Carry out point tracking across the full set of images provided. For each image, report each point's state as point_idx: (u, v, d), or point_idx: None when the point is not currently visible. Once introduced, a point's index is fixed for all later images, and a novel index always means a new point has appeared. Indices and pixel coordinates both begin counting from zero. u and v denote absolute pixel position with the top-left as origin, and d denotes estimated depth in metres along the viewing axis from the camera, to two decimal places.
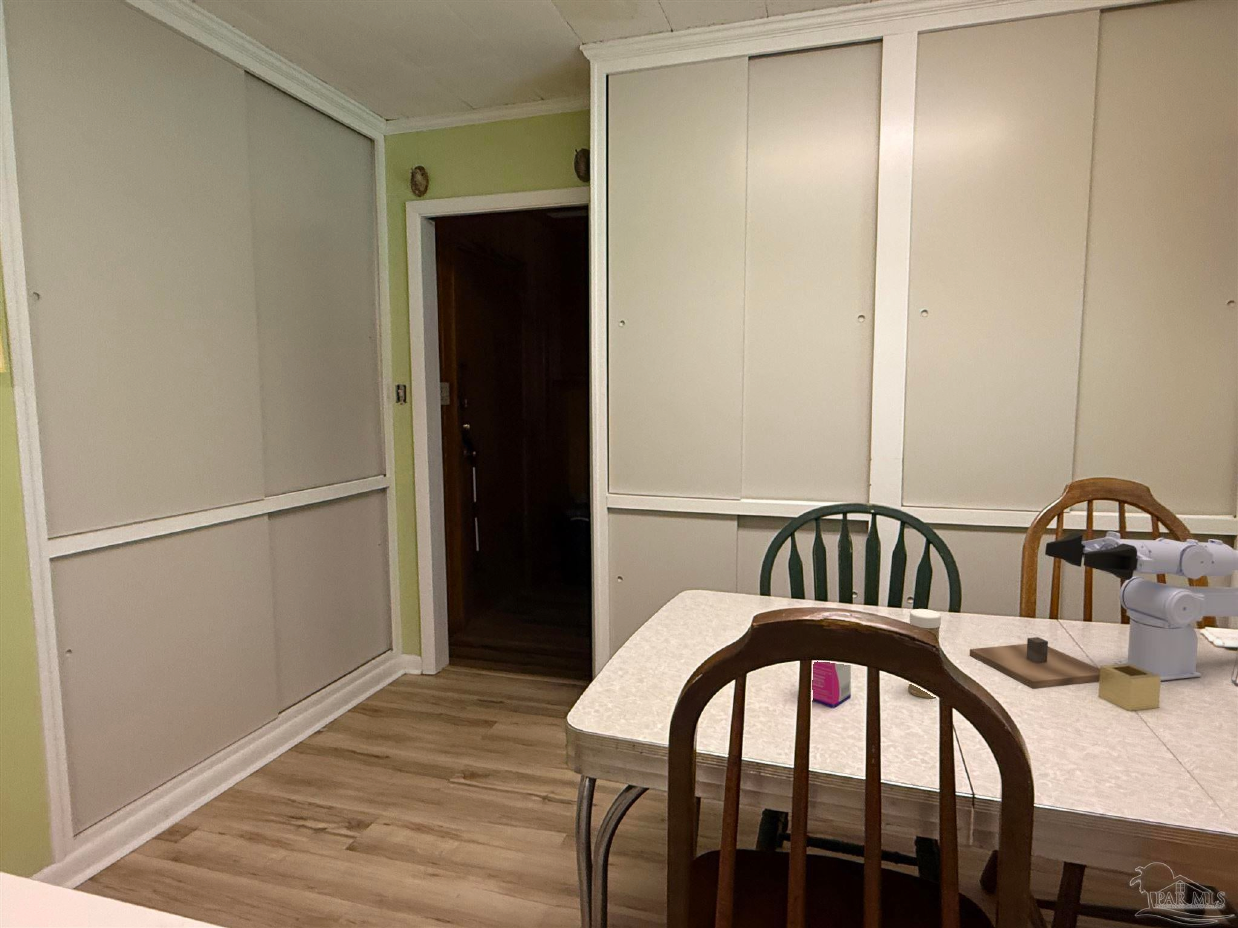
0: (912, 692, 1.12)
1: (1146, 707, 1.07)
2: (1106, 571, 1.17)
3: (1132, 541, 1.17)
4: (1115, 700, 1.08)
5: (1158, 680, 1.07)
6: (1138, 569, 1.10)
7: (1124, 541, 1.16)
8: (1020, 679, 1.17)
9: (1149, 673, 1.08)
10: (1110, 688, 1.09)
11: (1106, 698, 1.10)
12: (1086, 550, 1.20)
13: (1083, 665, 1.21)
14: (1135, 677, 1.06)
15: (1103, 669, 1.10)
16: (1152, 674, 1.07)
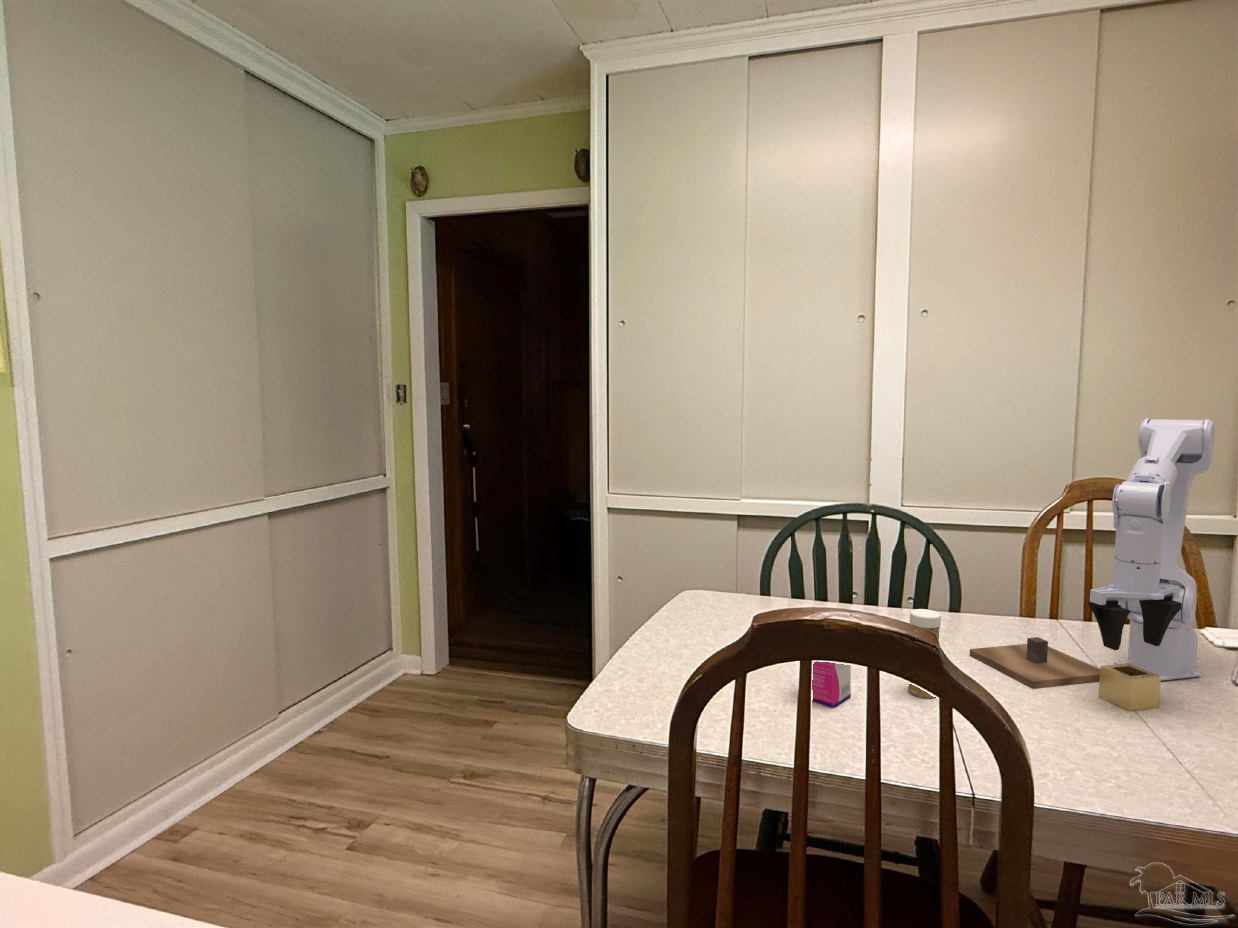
0: (912, 692, 1.12)
1: (1146, 707, 1.07)
2: None
3: (1157, 574, 1.05)
4: (1115, 700, 1.08)
5: (1158, 680, 1.07)
6: None
7: (1157, 585, 1.05)
8: (1020, 679, 1.17)
9: (1149, 673, 1.08)
10: (1110, 688, 1.09)
11: (1106, 698, 1.10)
12: (1117, 601, 1.07)
13: (1083, 665, 1.21)
14: (1135, 677, 1.06)
15: (1103, 669, 1.10)
16: (1152, 674, 1.07)
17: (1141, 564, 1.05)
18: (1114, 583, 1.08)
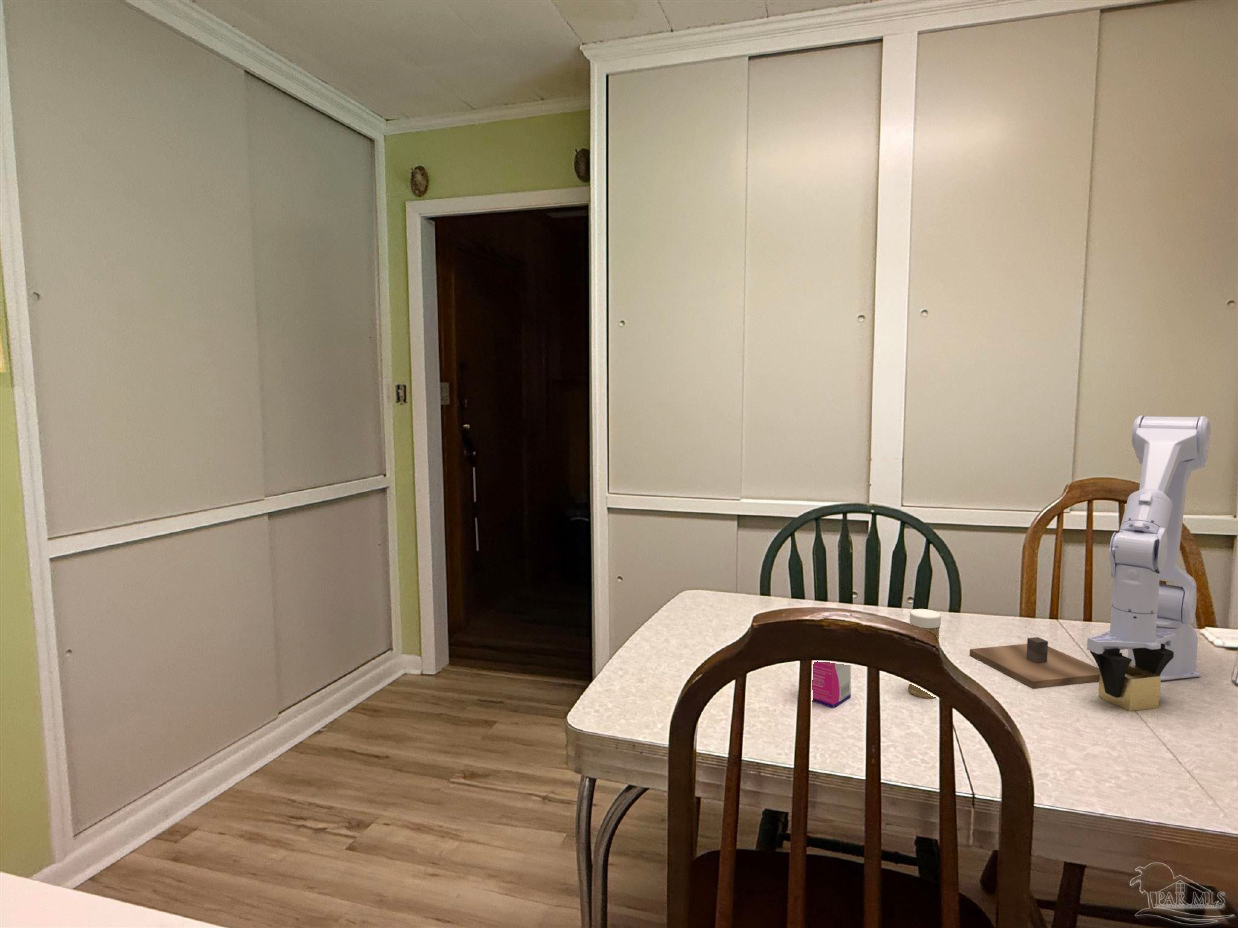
0: (912, 692, 1.12)
1: (1146, 707, 1.07)
2: None
3: (1154, 623, 1.06)
4: (1115, 700, 1.08)
5: (1158, 680, 1.07)
6: None
7: (1154, 634, 1.06)
8: (1020, 679, 1.17)
9: (1149, 673, 1.08)
10: None
11: (1106, 698, 1.10)
12: None
13: (1083, 665, 1.21)
14: (1135, 677, 1.06)
15: None
16: (1152, 674, 1.07)
17: (1138, 614, 1.05)
18: (1111, 631, 1.09)
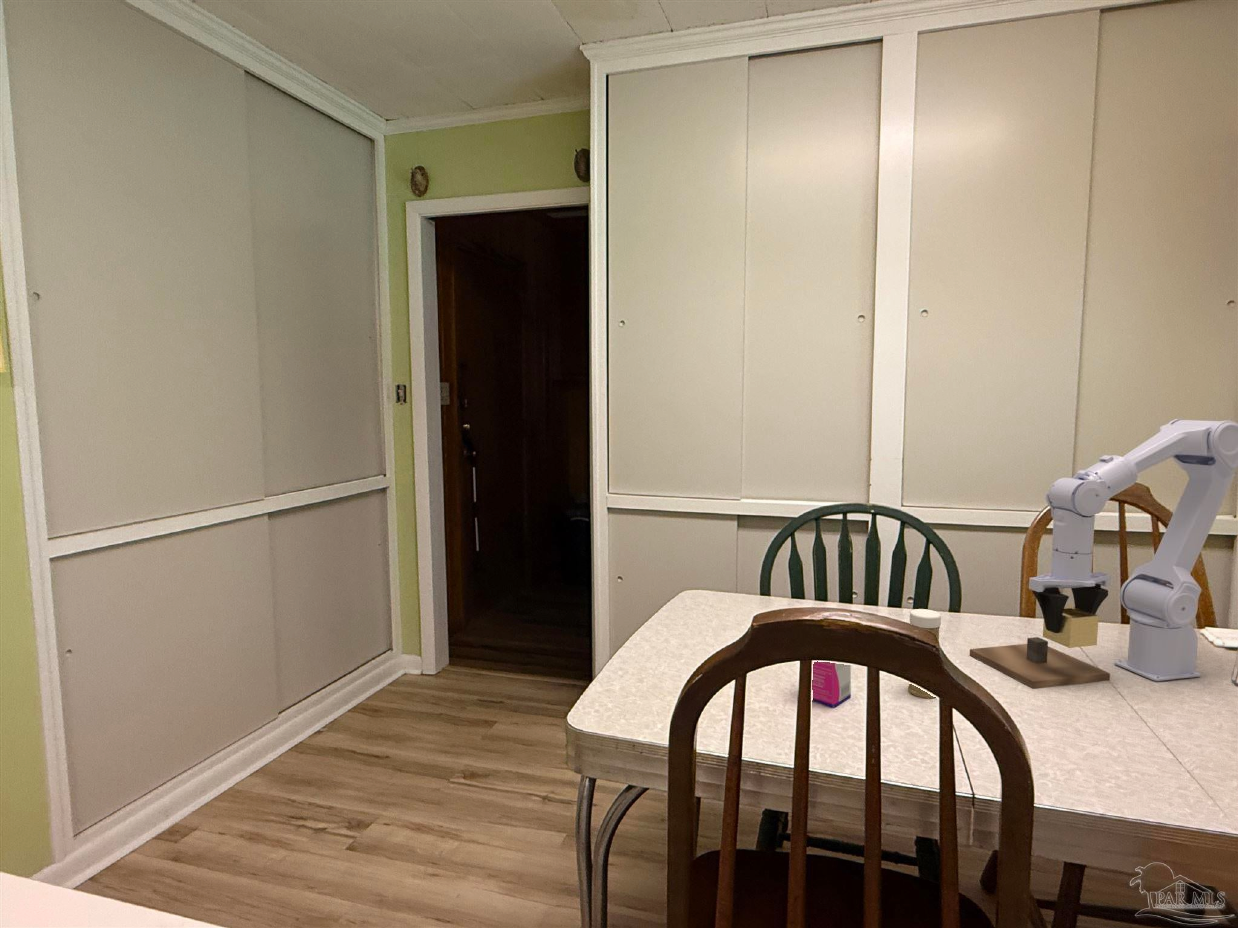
0: (912, 692, 1.12)
1: (1085, 644, 1.15)
2: None
3: (1089, 563, 1.14)
4: (1057, 639, 1.17)
5: (1096, 619, 1.15)
6: None
7: (1089, 574, 1.14)
8: (1020, 679, 1.17)
9: (1088, 613, 1.16)
10: None
11: (1049, 638, 1.18)
12: None
13: (1083, 665, 1.21)
14: (1075, 616, 1.14)
15: None
16: (1091, 614, 1.16)
17: (1074, 554, 1.14)
18: (1051, 572, 1.17)
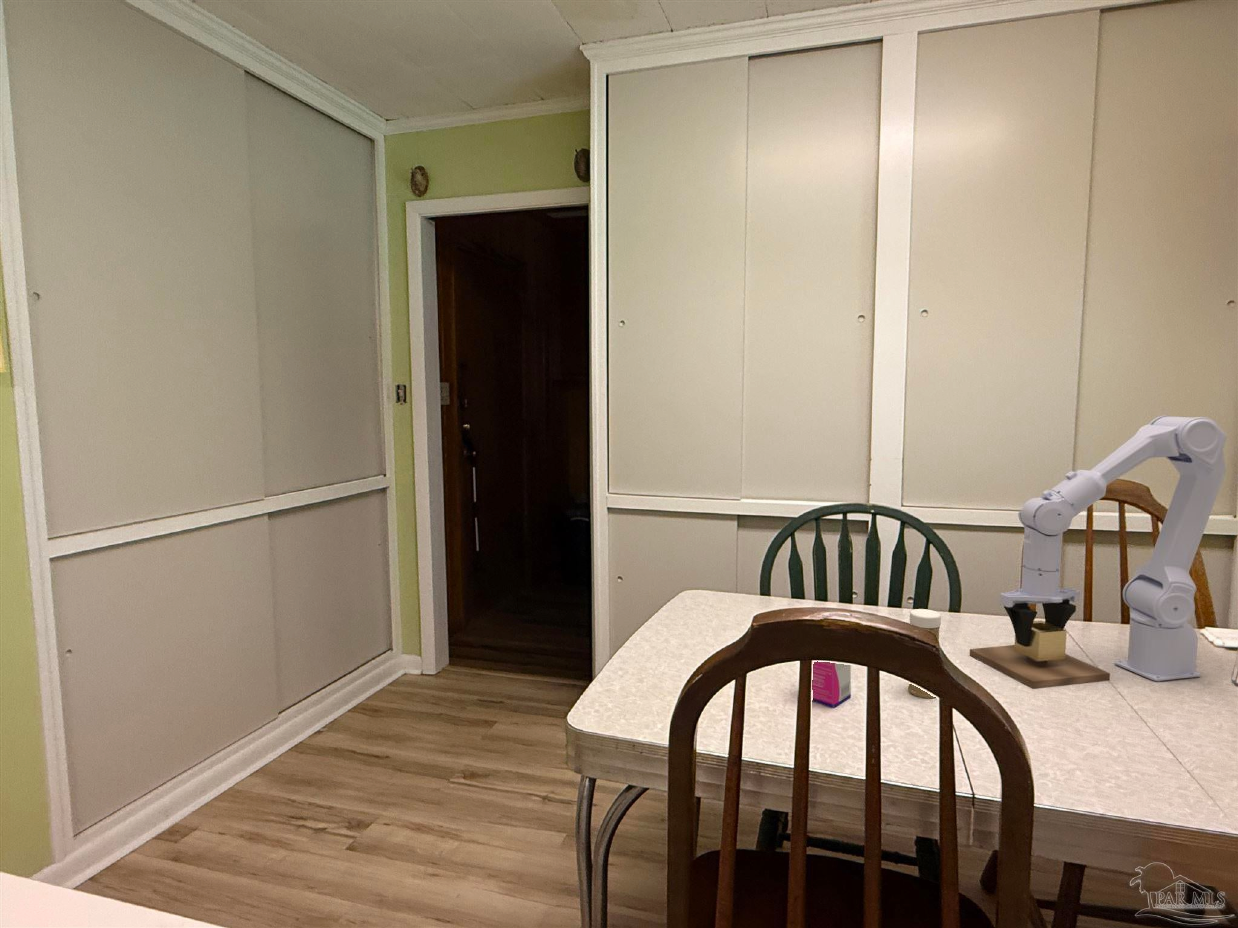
0: (912, 692, 1.12)
1: (1053, 658, 1.20)
2: None
3: (1057, 580, 1.19)
4: (1027, 652, 1.22)
5: (1064, 634, 1.20)
6: None
7: (1057, 590, 1.20)
8: (1020, 679, 1.17)
9: (1057, 628, 1.21)
10: None
11: (1020, 651, 1.23)
12: None
13: (1083, 665, 1.21)
14: (1043, 631, 1.20)
15: None
16: (1059, 629, 1.21)
17: (1043, 571, 1.19)
18: (1022, 588, 1.23)
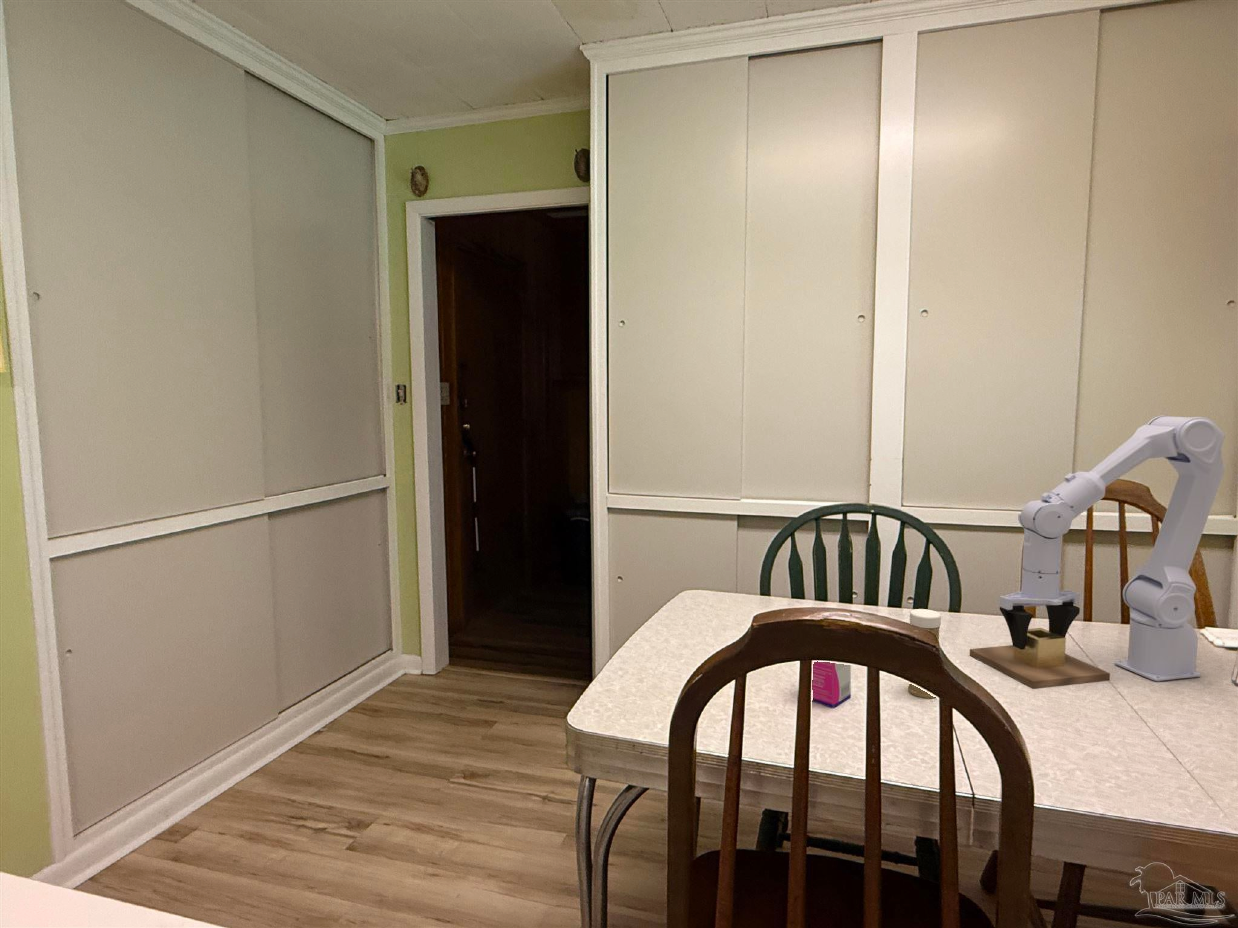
0: (912, 692, 1.12)
1: (1053, 665, 1.20)
2: None
3: (1057, 583, 1.19)
4: (1026, 660, 1.22)
5: (1063, 641, 1.20)
6: None
7: (1057, 592, 1.20)
8: (1020, 679, 1.17)
9: (1056, 635, 1.21)
10: (1023, 649, 1.23)
11: (1019, 658, 1.23)
12: (1024, 606, 1.22)
13: (1083, 665, 1.21)
14: (1042, 638, 1.20)
15: None
16: (1058, 636, 1.21)
17: (1042, 574, 1.19)
18: (1022, 590, 1.23)
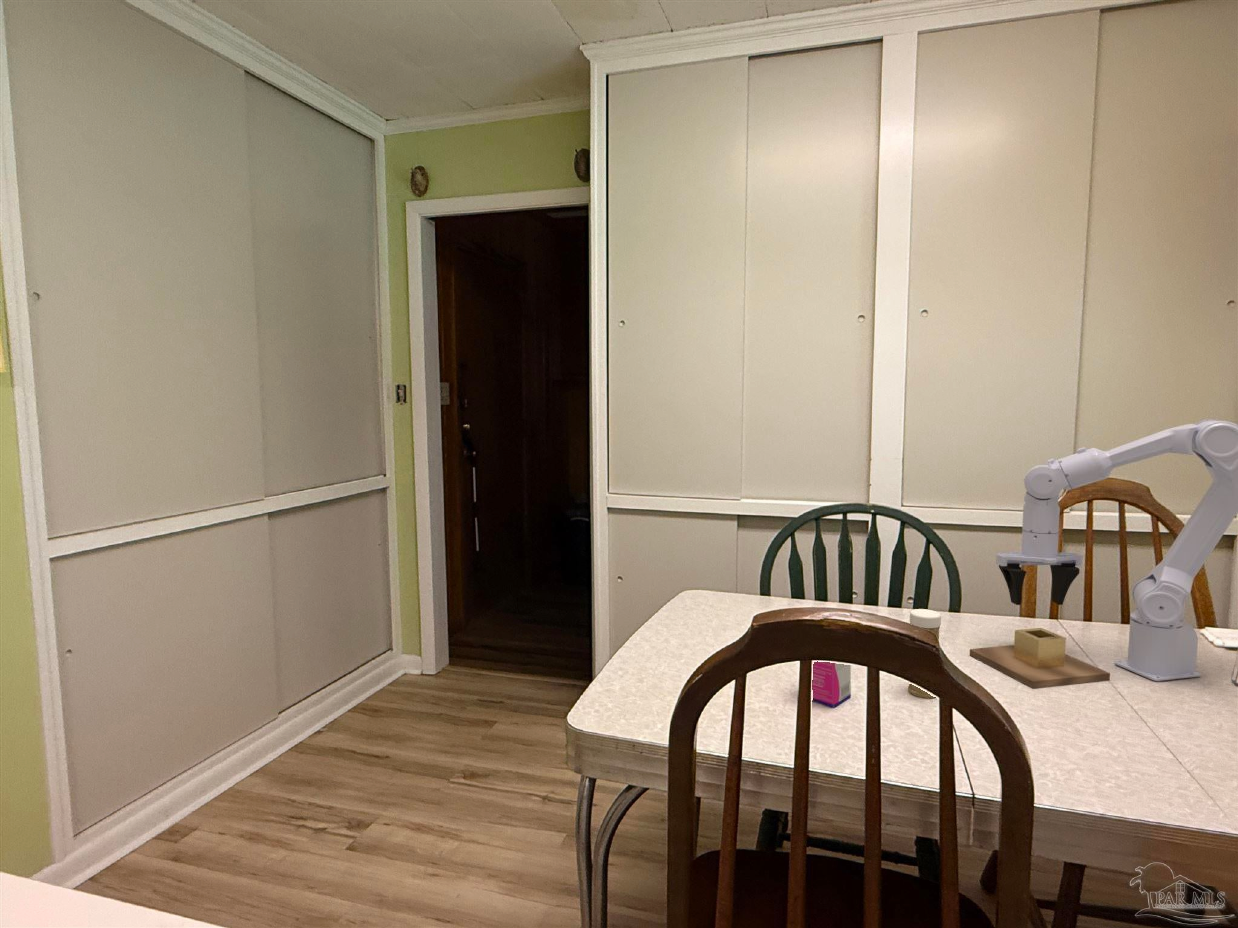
0: (912, 692, 1.12)
1: (1053, 665, 1.20)
2: None
3: (1053, 542, 1.25)
4: (1026, 660, 1.22)
5: (1063, 641, 1.20)
6: None
7: (1053, 552, 1.26)
8: (1020, 679, 1.17)
9: (1056, 635, 1.21)
10: (1023, 649, 1.23)
11: (1019, 658, 1.23)
12: (1021, 564, 1.29)
13: (1083, 665, 1.21)
14: (1042, 638, 1.20)
15: (1017, 633, 1.24)
16: (1058, 636, 1.21)
17: (1037, 533, 1.26)
18: (1021, 550, 1.30)
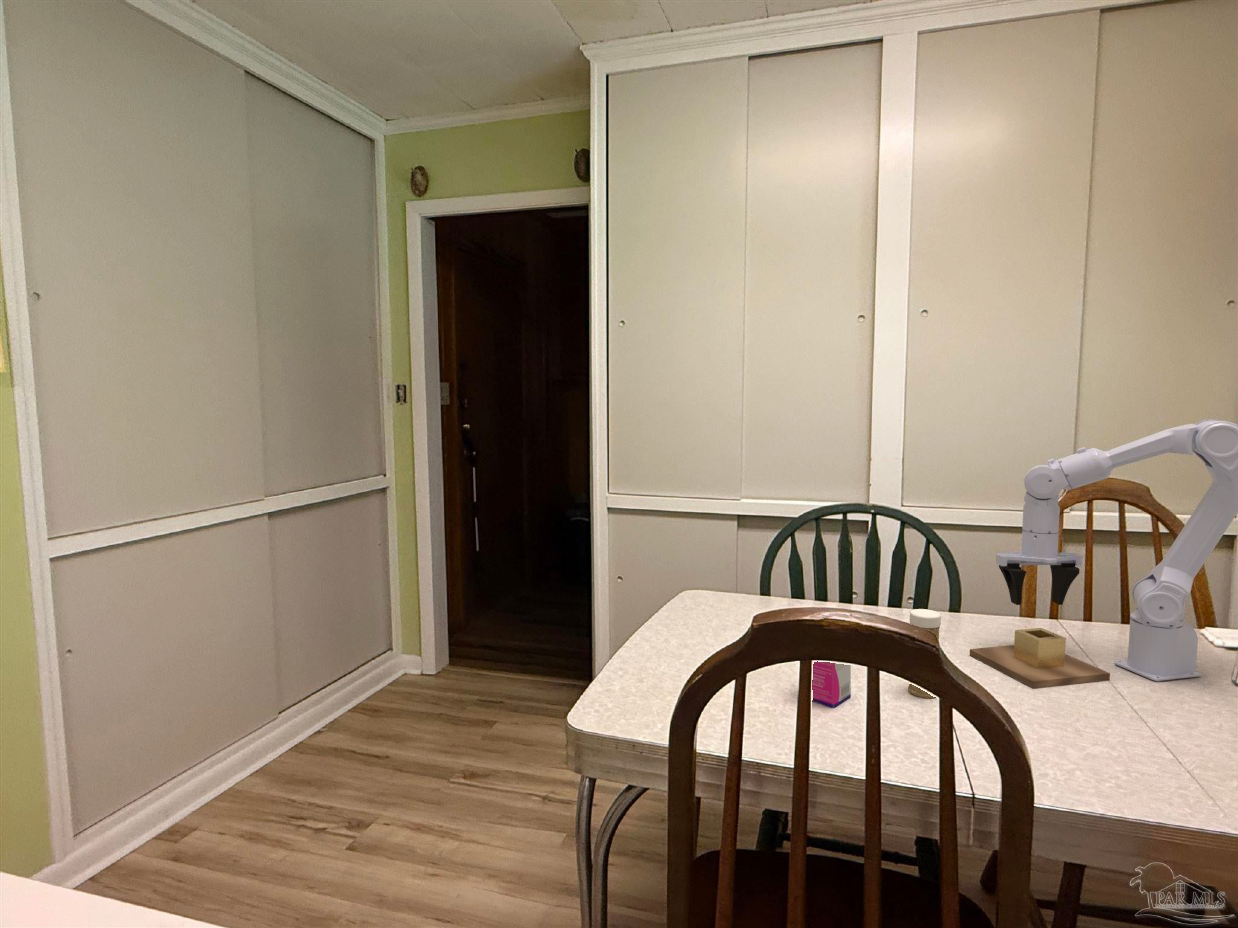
0: (912, 692, 1.12)
1: (1053, 665, 1.20)
2: None
3: (1053, 542, 1.25)
4: (1026, 660, 1.22)
5: (1063, 641, 1.20)
6: None
7: (1053, 552, 1.26)
8: (1020, 679, 1.17)
9: (1056, 635, 1.21)
10: (1023, 649, 1.23)
11: (1019, 658, 1.23)
12: (1021, 564, 1.29)
13: (1083, 665, 1.21)
14: (1042, 638, 1.20)
15: (1017, 633, 1.24)
16: (1058, 636, 1.21)
17: (1037, 533, 1.26)
18: (1021, 550, 1.30)
